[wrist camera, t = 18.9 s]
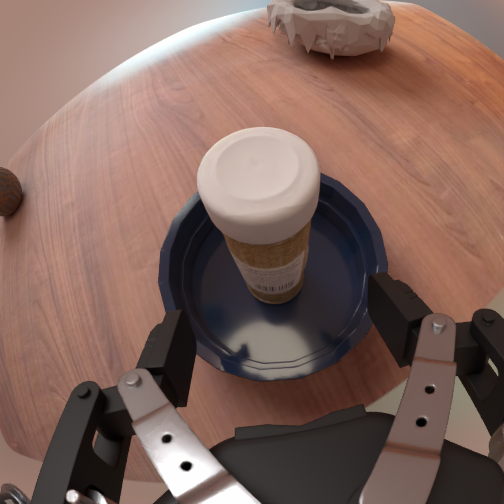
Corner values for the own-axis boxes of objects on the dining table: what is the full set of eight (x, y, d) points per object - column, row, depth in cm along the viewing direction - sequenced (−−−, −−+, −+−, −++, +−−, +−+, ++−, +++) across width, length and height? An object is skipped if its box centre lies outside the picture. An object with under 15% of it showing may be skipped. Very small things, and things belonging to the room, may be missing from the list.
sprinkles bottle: (308, 256, 22) (327, 129, 10) (297, 311, 21) (312, 232, 8) (252, 245, 23) (216, 119, 11) (238, 299, 22) (175, 210, 9)
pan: (258, 416, 18) (252, 429, 14) (149, 267, 24) (125, 247, 20) (404, 284, 21) (427, 266, 17) (283, 167, 26) (281, 135, 22)
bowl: (407, 84, 31) (422, 29, 21) (269, 73, 33) (262, 12, 24) (373, 31, 38) (377, -9, 29) (271, 25, 41) (266, -17, 32)
